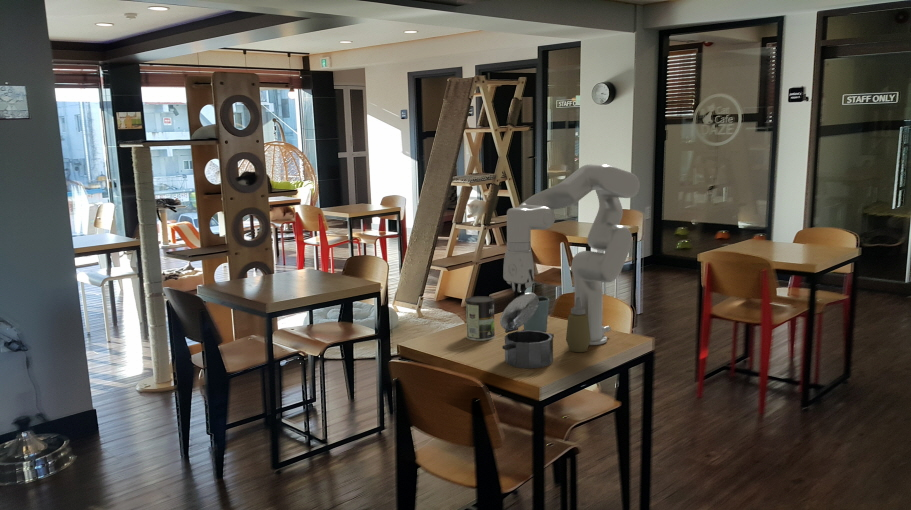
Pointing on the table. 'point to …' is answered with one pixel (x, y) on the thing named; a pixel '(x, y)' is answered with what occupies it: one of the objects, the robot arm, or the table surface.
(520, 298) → the lid
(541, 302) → the blue-green cup
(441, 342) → the table surface
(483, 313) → the coffee can
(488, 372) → the table surface
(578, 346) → the squeeze bottle
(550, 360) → the pot
